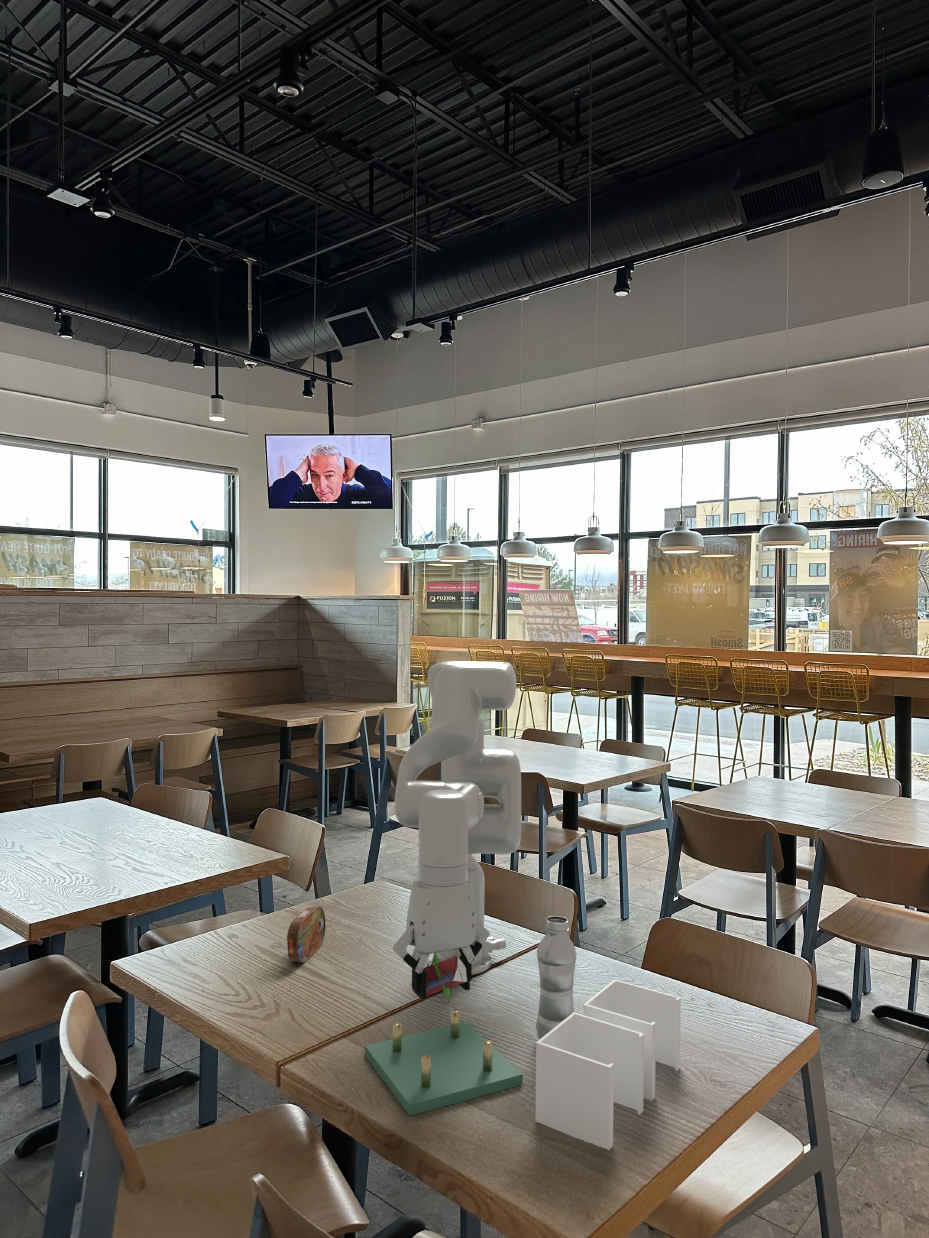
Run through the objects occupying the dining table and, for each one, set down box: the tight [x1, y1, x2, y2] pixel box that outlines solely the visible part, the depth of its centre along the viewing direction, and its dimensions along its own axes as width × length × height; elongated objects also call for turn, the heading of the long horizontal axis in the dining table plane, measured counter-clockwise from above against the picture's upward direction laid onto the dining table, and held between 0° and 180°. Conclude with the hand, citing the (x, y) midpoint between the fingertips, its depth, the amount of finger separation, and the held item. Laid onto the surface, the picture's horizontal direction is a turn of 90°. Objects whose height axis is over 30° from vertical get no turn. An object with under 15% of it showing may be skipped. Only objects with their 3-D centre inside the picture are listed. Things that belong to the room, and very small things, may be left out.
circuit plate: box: [364, 1021, 524, 1116], centre depth 129 cm, size 18×18×2 cm
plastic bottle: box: [535, 915, 577, 1041], centre depth 137 cm, size 6×7×20 cm
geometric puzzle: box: [424, 952, 467, 1004], centre depth 128 cm, size 7×7×8 cm
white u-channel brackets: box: [535, 979, 682, 1151], centre depth 123 cm, size 25×11×11 cm, turn 145°
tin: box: [286, 905, 326, 964], centre depth 172 cm, size 15×3×8 cm, turn 168°
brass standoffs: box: [392, 1009, 493, 1088], centre depth 129 cm, size 11×12×4 cm
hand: (441, 990), depth 128 cm, fingers closed on geometric puzzle, 6 cm apart
